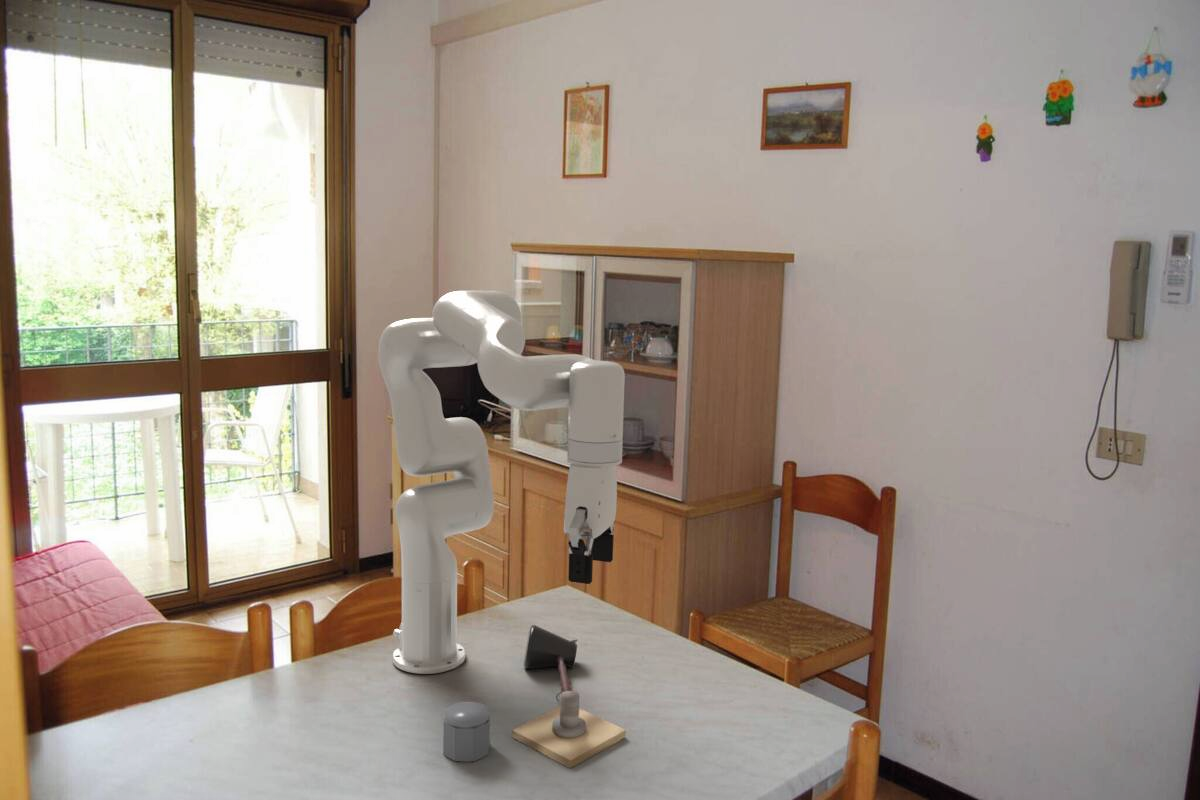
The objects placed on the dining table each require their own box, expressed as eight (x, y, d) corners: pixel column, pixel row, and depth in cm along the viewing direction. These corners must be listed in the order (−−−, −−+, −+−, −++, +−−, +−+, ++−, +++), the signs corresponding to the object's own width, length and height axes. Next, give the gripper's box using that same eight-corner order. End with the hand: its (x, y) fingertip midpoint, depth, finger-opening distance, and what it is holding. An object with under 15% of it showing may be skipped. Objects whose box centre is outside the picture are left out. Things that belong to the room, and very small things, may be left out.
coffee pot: (524, 653, 166) (571, 660, 167) (517, 713, 149) (569, 721, 149) (531, 616, 164) (578, 623, 165) (525, 673, 147) (578, 681, 147)
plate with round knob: (511, 737, 137) (512, 695, 136) (567, 709, 146) (568, 670, 145) (570, 768, 129) (571, 723, 128) (625, 737, 138) (627, 695, 137)
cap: (435, 749, 133) (435, 712, 132) (469, 733, 138) (469, 697, 137) (463, 766, 129) (464, 728, 128) (498, 749, 134) (498, 712, 133)
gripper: (588, 438, 136) (585, 550, 138) (547, 461, 119) (544, 587, 122) (637, 442, 134) (633, 556, 136) (602, 466, 117) (598, 595, 120)
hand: (591, 571), depth 129 cm, fingers open, 9 cm apart
